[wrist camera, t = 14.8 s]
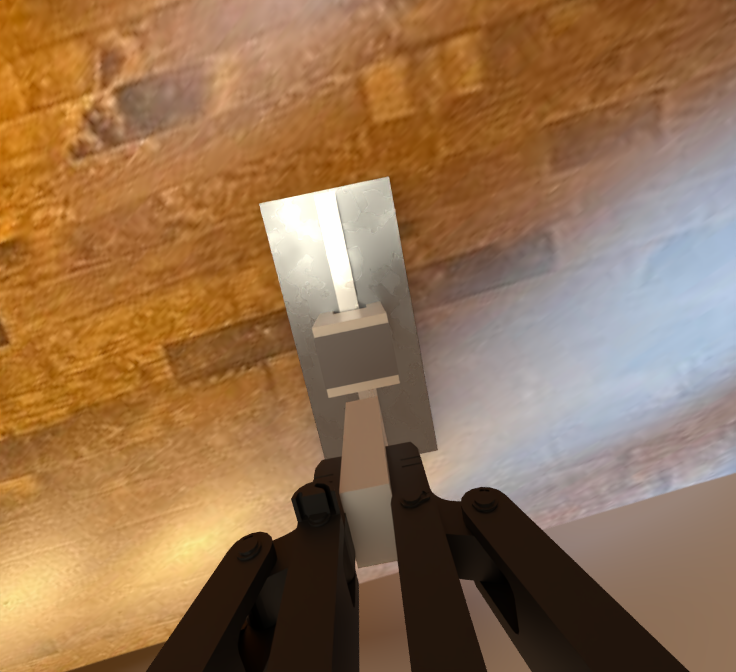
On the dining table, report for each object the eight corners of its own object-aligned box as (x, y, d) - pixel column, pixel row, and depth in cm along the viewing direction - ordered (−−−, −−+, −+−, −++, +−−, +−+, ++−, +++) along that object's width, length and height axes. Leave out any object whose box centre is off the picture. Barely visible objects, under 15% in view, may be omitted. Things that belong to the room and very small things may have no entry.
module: (318, 314, 36) (311, 328, 29) (380, 301, 36) (387, 312, 29) (332, 371, 37) (327, 398, 30) (391, 359, 37) (400, 383, 30)
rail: (261, 205, 35) (255, 201, 32) (387, 178, 35) (390, 173, 32) (328, 467, 41) (327, 481, 38) (435, 445, 41) (440, 457, 38)
